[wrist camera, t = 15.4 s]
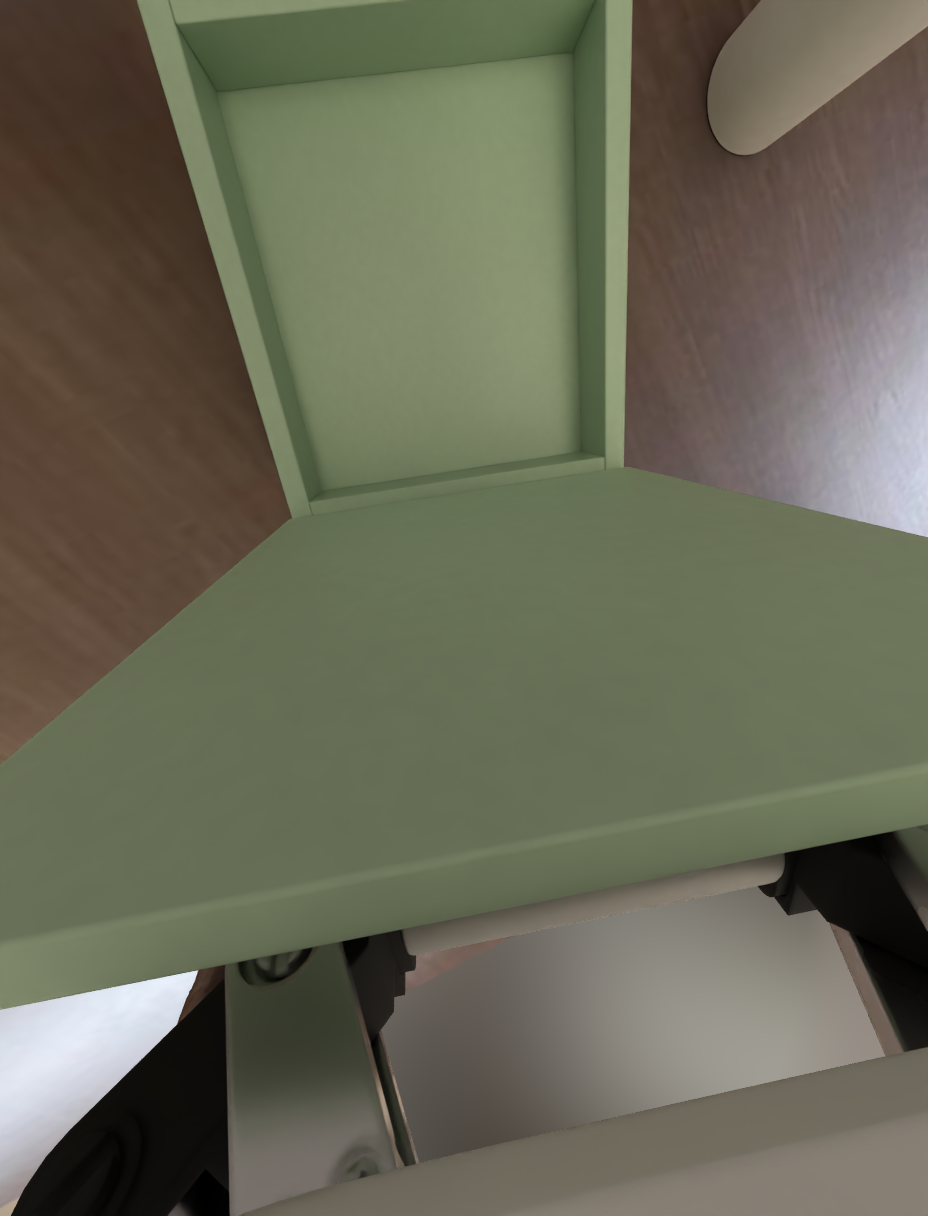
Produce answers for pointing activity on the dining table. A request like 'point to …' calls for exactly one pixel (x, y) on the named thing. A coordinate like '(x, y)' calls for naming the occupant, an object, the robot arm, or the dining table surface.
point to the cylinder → (799, 62)
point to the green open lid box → (414, 231)
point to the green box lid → (471, 730)
